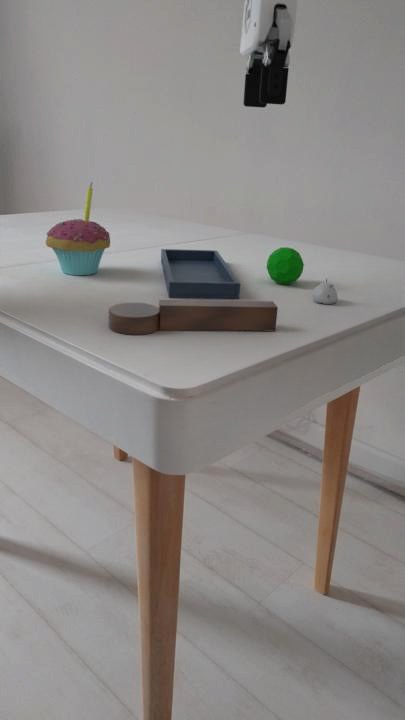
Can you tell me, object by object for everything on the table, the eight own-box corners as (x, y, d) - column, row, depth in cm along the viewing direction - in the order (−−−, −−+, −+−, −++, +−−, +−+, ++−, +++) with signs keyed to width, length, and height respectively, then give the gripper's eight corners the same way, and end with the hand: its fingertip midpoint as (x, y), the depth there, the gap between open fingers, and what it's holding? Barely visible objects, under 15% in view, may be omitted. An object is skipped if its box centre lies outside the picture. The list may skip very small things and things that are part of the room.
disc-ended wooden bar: (107, 334, 55) (107, 309, 54) (109, 318, 60) (109, 294, 59) (278, 336, 57) (281, 311, 56) (267, 320, 62) (269, 297, 61)
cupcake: (95, 263, 84) (93, 178, 79) (121, 275, 77) (121, 184, 73) (39, 267, 79) (33, 178, 75) (61, 281, 73) (57, 185, 68)
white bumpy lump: (330, 297, 72) (333, 277, 71) (342, 306, 69) (345, 285, 68) (306, 297, 72) (309, 277, 71) (318, 306, 68) (320, 285, 67)
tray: (168, 297, 68) (169, 282, 68) (161, 261, 87) (161, 248, 87) (239, 298, 69) (240, 283, 69) (216, 262, 88) (217, 250, 88)
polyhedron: (257, 280, 78) (260, 246, 77) (282, 277, 81) (286, 244, 79) (283, 289, 75) (287, 253, 73) (308, 285, 78) (312, 250, 76)
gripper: (232, -35, 75) (223, 106, 81) (261, -80, 59) (248, 100, 65) (286, -30, 76) (274, 109, 82) (330, -73, 60) (310, 104, 66)
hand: (262, 105), depth 73 cm, fingers open, 9 cm apart
